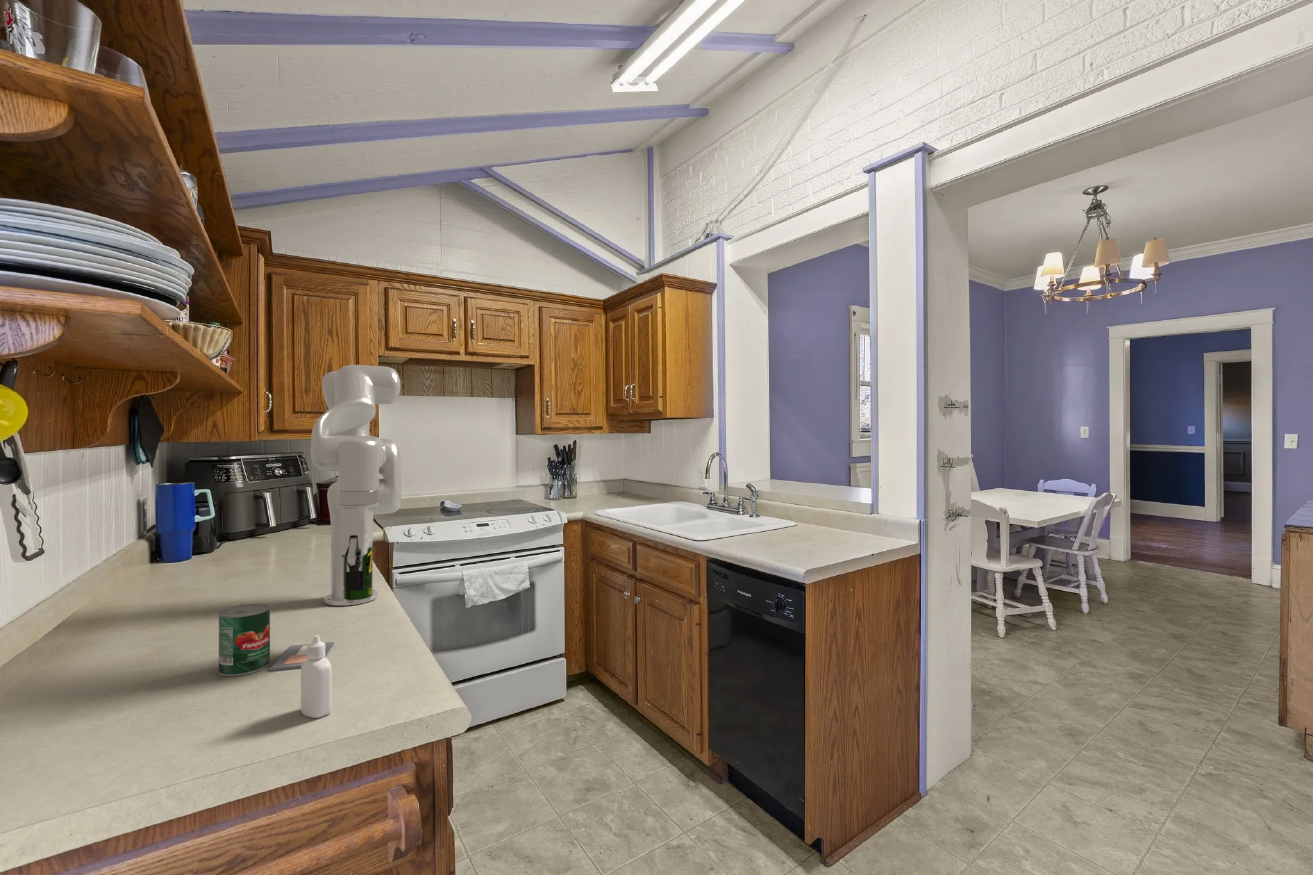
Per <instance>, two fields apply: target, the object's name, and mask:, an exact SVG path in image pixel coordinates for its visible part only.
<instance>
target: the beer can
mask: <svg viewBox="0 0 1313 875" xmlns="http://www.w3.org/2000/svg"><path fill="white" fill-rule="evenodd" d="M371 542H372V541H371ZM371 542H370V545H369V548H368V553H367V554H366V555H364V556H363V570H364V589H363V590H359V591H347V590H346V571H347V555H348V552H347V551H348V549H347V551H346V552H347V553H346V554H345V556H344V557H343V599H344V600H345V602H346V603H361V602H365V603H367V602H366V601H368V600H370V599H371V597H372V590H373V575H374V574H373V567H374V566H373V565H374V564H373V563H374V561H373V555H374V553H373V552H374V551H373V550H374V549H373V548H374V546H373V545H374V544H373V543H371ZM360 553H361V552H356V555H361V554H360ZM356 560H358V561H359V558H357V559H356ZM361 604H362V603H361Z"/></svg>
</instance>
